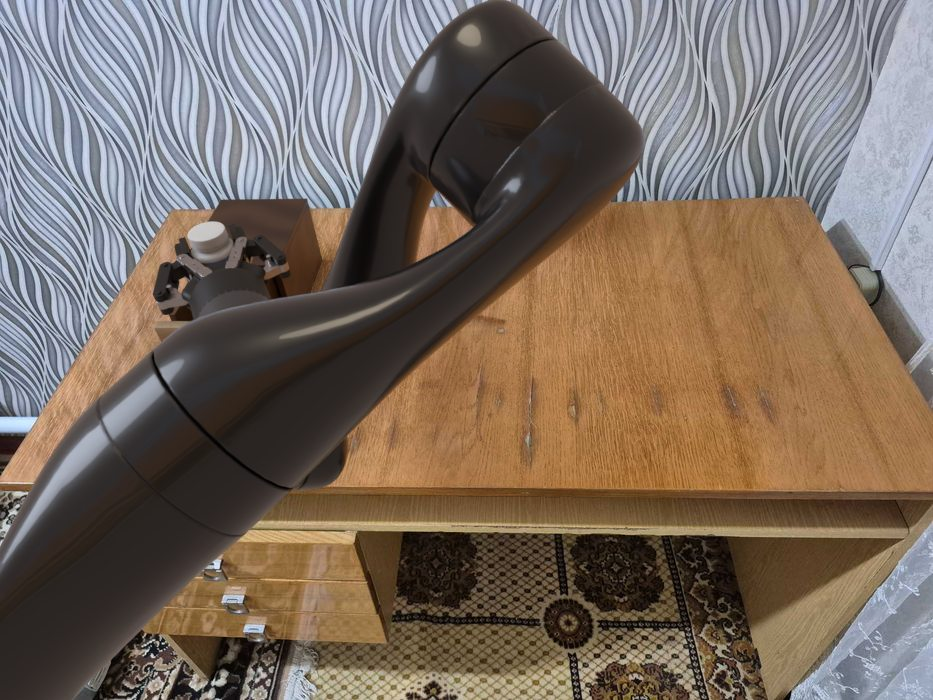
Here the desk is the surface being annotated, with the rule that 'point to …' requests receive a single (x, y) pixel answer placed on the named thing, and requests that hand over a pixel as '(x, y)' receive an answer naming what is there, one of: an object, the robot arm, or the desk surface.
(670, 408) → the desk surface
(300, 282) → the cabinet
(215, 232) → the pill bottle
